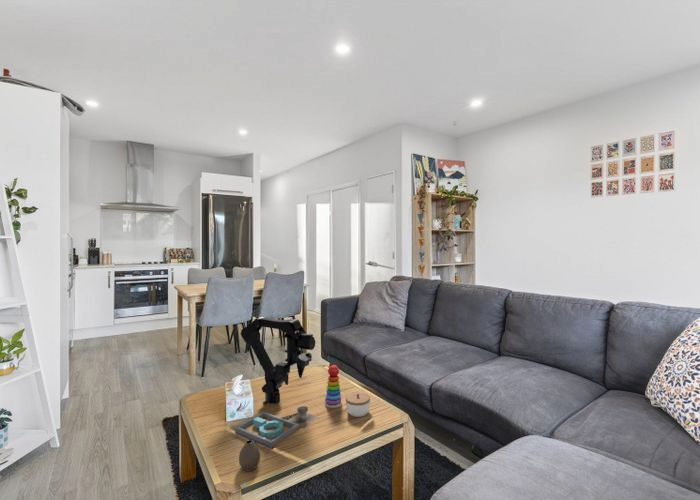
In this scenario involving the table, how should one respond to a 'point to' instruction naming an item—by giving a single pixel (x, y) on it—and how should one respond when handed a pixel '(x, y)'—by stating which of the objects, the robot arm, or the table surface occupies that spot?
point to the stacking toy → (333, 388)
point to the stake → (303, 417)
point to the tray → (262, 440)
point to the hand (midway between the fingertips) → (293, 381)
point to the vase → (249, 456)
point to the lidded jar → (358, 403)
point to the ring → (264, 425)
